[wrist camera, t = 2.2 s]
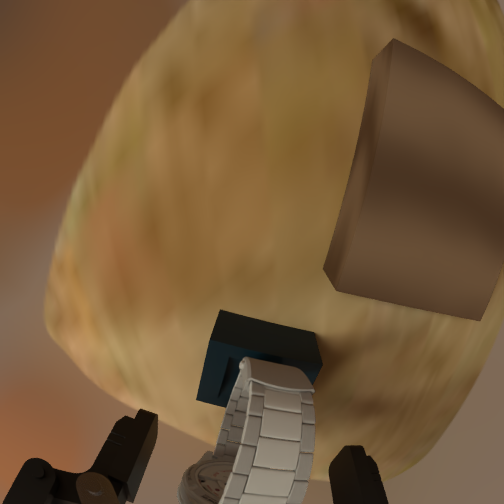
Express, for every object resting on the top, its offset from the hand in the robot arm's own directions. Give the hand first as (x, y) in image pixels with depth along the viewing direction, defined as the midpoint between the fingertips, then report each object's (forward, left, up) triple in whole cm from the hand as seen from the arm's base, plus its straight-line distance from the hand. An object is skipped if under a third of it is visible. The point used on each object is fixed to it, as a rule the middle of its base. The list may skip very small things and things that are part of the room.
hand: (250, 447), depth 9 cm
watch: (0, 0, -7) cm, 7 cm away
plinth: (-12, +7, -7) cm, 16 cm away
